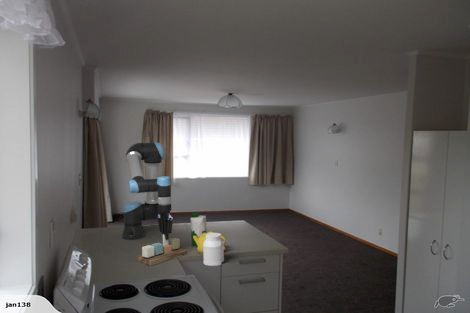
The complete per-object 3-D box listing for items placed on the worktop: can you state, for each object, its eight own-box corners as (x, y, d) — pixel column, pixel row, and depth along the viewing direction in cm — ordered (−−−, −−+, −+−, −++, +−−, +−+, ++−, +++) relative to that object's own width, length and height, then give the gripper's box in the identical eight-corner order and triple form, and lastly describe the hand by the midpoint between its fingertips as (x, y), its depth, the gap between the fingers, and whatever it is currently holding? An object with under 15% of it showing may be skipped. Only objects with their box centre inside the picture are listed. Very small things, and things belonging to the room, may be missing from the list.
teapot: (189, 253, 214) (189, 233, 213) (197, 247, 225) (197, 228, 225) (222, 256, 208) (221, 235, 207) (228, 249, 220) (228, 230, 219)
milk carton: (194, 243, 235) (193, 211, 234) (208, 243, 233) (207, 212, 232) (189, 247, 226) (189, 214, 225) (204, 247, 224) (203, 215, 223)
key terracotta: (160, 254, 209) (159, 245, 209) (166, 252, 213) (166, 243, 213) (165, 255, 206) (165, 247, 206) (171, 253, 210) (171, 245, 210)
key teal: (151, 253, 205) (151, 244, 205) (158, 251, 208) (157, 242, 208) (156, 254, 202) (156, 245, 202) (163, 252, 205) (163, 243, 205)
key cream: (142, 256, 200) (142, 246, 200) (149, 253, 204) (149, 245, 203) (147, 257, 197) (147, 248, 197) (154, 255, 201) (154, 246, 200)
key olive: (168, 248, 214) (168, 239, 214) (174, 246, 217) (174, 237, 217) (173, 249, 211) (173, 240, 211) (179, 247, 214) (179, 239, 214)
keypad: (135, 260, 203) (135, 256, 202) (171, 249, 222) (170, 245, 221) (151, 266, 193) (151, 261, 193) (186, 254, 212) (186, 249, 212)
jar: (219, 266, 191) (218, 238, 190) (201, 265, 193) (201, 237, 192) (225, 259, 202) (224, 232, 201) (208, 258, 204) (207, 231, 204)
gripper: (152, 203, 210) (153, 244, 211) (166, 206, 201) (167, 248, 202) (162, 201, 215) (163, 241, 216) (177, 204, 207) (178, 245, 208)
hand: (165, 245), depth 209 cm, fingers closed
